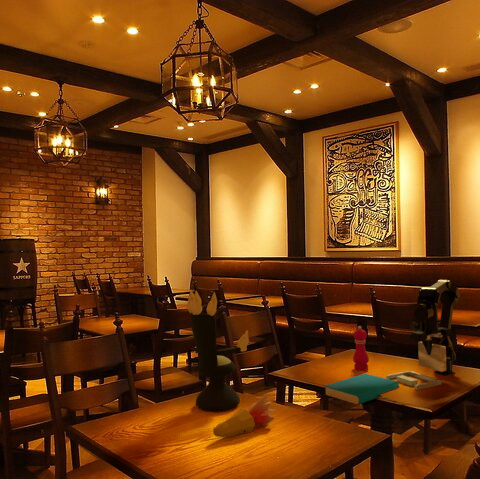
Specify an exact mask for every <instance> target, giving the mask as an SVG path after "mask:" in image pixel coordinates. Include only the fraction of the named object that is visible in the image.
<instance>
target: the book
mask: <svg viewBox="0 0 480 479" xmlns="http://www.w3.org/2000/svg"><path fill="white" fill-rule="evenodd" d="M399 387H400V383H399V382H397V381H396V380H394V379H390V380H389V379H386V377H382V376H378V375H373V374H369V373H362V374H359V375H355V376H352V377H348V378H345V379H343V380H339V381H336V382H333V383H332V382H331V383H329V384H326V385H324V388H325V395H326V396H329V397H331V398H332V397H333V398H335V399H339V400H342V401H344V402H348V403H350V404H355V405H357V406H359V405H362V404H364V403H366V402H367V403H368V402H370V401H373V400H376V399H377V398H378V399H379V398H380V397H382V395H381V394H384V393H386V392H389V391H392V390H395V389H397V388H399ZM375 398H376V399H375Z"/></svg>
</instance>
